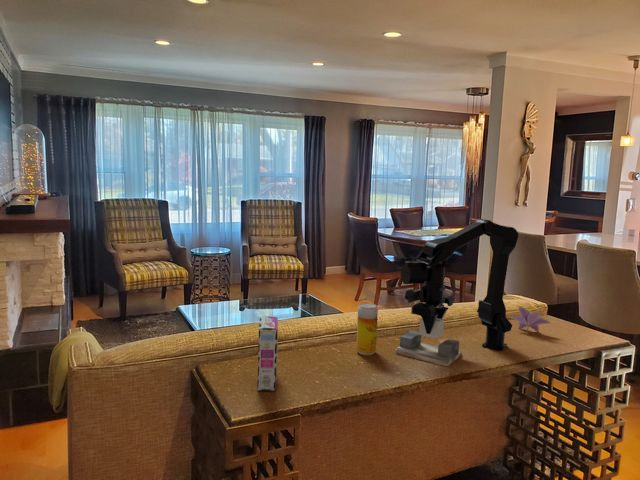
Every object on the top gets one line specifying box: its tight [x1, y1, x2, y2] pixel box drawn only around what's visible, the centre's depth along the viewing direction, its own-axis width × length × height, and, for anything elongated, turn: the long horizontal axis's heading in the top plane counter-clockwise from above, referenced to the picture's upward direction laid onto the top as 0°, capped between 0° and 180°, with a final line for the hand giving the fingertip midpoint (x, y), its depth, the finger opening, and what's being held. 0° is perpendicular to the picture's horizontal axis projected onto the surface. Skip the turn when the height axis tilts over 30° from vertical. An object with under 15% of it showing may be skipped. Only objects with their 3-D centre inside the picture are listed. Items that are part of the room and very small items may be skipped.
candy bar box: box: [257, 316, 279, 392], centre depth 132 cm, size 11×5×16 cm, turn 5°
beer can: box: [355, 302, 379, 356], centre depth 156 cm, size 6×6×15 cm
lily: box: [510, 306, 552, 337], centre depth 180 cm, size 12×12×10 cm
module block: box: [418, 317, 445, 340], centre depth 157 cm, size 4×6×5 cm
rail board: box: [395, 330, 462, 367], centre depth 156 cm, size 12×16×5 cm
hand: (431, 331), depth 157 cm, fingers closed on module block, 4 cm apart
